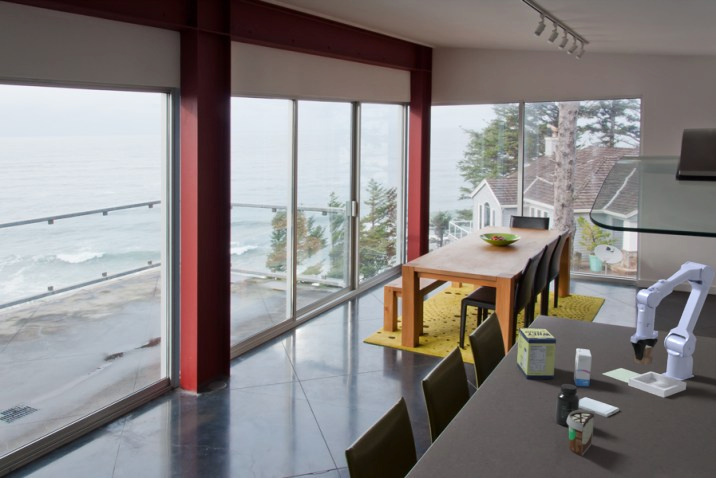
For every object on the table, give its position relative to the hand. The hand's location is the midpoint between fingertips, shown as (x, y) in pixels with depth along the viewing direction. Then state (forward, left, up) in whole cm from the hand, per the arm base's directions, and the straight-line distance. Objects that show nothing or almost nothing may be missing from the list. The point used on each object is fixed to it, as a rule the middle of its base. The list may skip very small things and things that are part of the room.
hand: (642, 358), depth 261 cm
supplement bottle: (+52, +8, -10) cm, 54 cm away
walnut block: (0, 0, -2) cm, 2 cm away
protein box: (+24, -29, -10) cm, 39 cm away
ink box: (+18, -12, -10) cm, 24 cm away
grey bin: (0, +7, -9) cm, 12 cm away
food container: (+64, +21, -10) cm, 68 cm away
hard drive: (+34, +6, -10) cm, 36 cm away
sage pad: (-1, -7, -9) cm, 12 cm away
